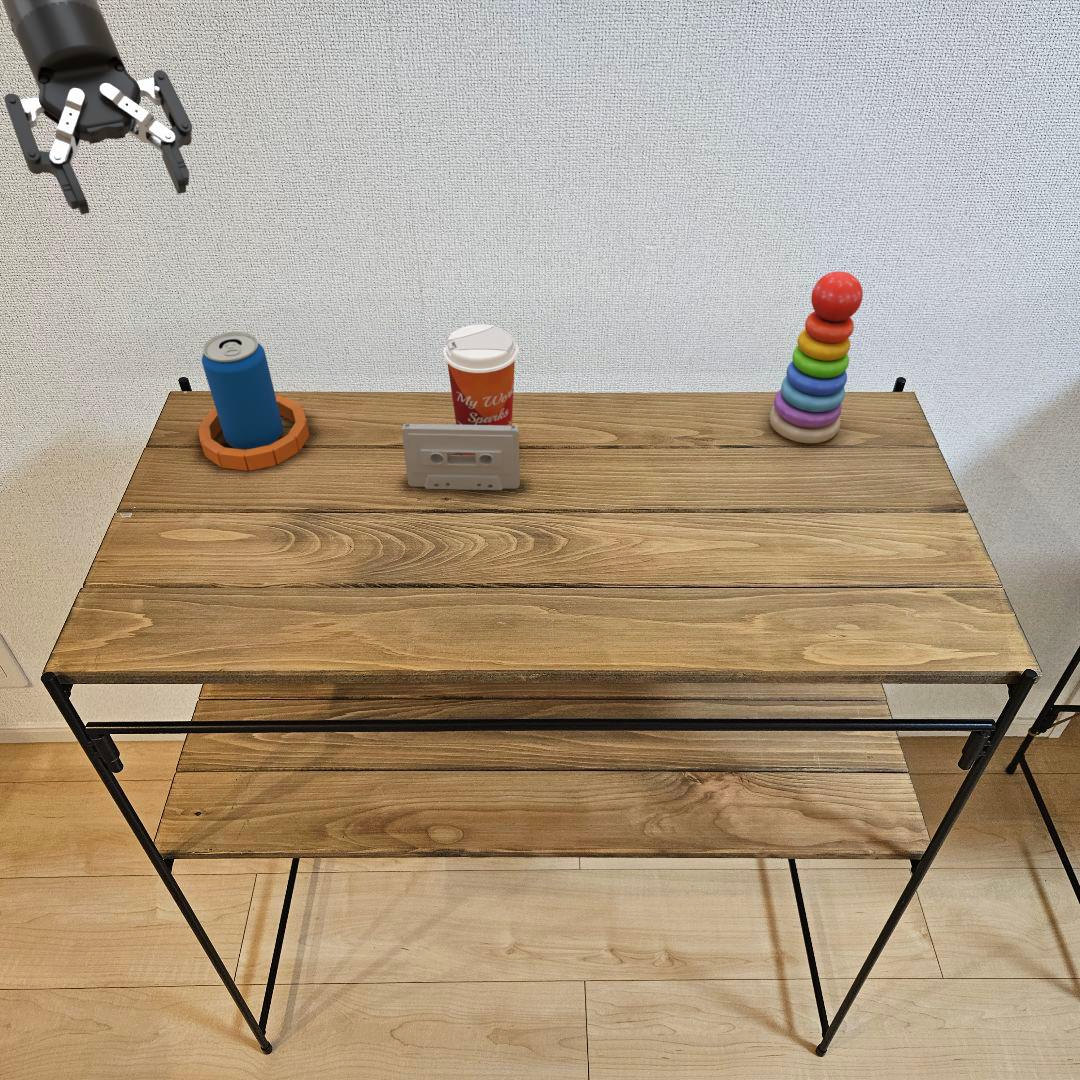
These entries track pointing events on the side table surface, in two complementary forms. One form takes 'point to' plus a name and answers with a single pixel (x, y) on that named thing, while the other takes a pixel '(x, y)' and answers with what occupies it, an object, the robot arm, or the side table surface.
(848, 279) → the stacking toy
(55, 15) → the robot arm
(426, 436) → the cassette
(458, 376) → the paper cup
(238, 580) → the side table surface
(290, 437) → the ring
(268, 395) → the beverage can
